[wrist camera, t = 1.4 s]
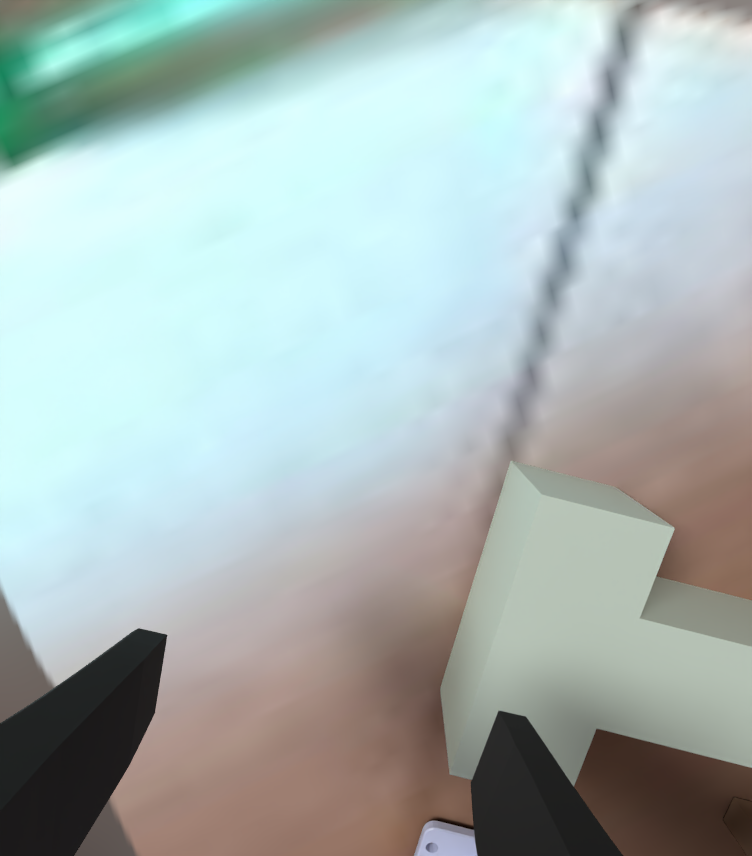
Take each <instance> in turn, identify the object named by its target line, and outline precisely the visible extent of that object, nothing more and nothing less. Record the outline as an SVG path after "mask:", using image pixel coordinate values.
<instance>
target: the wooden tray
mask: <svg viewBox="0 0 752 856" xmlns="http://www.w3.org/2000/svg"><path fill="white" fill-rule="evenodd" d="M723 821H724V822H725V824H726V825H727V827H728V828H729V830H730V831H731V833H732V834H733V836H734V837H735V839H736V840H737V842H738V843H739V845H740V846H741V848H742V849H743V851H744V852H745V854H746V855H747V856H752V802H751V801H747V800H743V799H739V798H736V797H734V798H733V800H732V802H731V804H730V806H729V808H728V811H727V813H726V815H725V817H724V819H723Z"/></svg>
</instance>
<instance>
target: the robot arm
mask: <svg viewBox="0 0 752 856" xmlns="http://www.w3.org/2000/svg"><path fill="white" fill-rule="evenodd" d="M166 639H167V635H166V634H161V633H157V632H152V631H148V630H144V629H139V628H138V629H137V630H135V631H133V632H131V633H130V634H129V635H127V636H126V637H125V638H123V639H122V640H121V641H119V642H118V643H117V644H115V645H114V646H113V647H111V648H110V649H108V650H107V651H106V652H104V653H103V654H102V655H100V656H99V657H98V658H96V659H95V660H93V661H92V662H91V663H89V664H88V665H86V666H85V667H84V668H82V669H81V670H79V671H78V672H77V673H75V674H74V675H72V676H71V677H69V678H68V679H67V680H65V681H64V682H62V683H61V684H59V685H58V686H56V687H55V688H53V689H52V690H51V691H49V692H48V693H46V694H45V695H43V696H42V697H40V698H39V699H37V700H36V701H34V702H33V703H31V704H30V705H28V706H27V707H25V708H24V709H22V710H21V711H19V712H17V713H16V714H14V715H13V716H11V717H9V718H8V719H6V720H5V721H3V722H2V723H0V856H74V855H75V853H76V852H77V850H78V848H79V847H80V845H81V844H82V842H83V840H84V839H85V837H86V835H87V834H88V832H89V831H90V829H91V827H92V826H93V824H94V822H95V821H96V819H97V817H98V816H99V814H100V813H101V811H102V809H103V808H104V806H105V805H106V803H107V801H108V800H109V798H110V796H111V795H112V793H113V791H114V790H115V788H116V786H117V785H118V783H119V782H120V780H121V778H122V777H123V775H124V773H125V772H126V770H127V768H128V767H129V765H130V763H131V761H132V759H133V757H134V755H135V753H136V751H137V749H138V747H139V745H140V743H141V741H142V738H143V736H144V734H145V732H146V730H147V728H148V726H149V724H150V722H151V720H152V718H153V715H154V713H155V708H156V702H157V696H158V689H159V683H160V677H161V671H162V664H163V658H164V652H165V646H166ZM471 794H472V810H473V823H474V830H472V829H468V828H464V827H460V826H456V825H452V824H448V823H444V822H440V821H434V820H433V821H429V822H427V823H426V824H425V825H424V827H423V830H422V833H421V836H420V839H419V842H418V845H417V848H416V851H415V854H414V856H623V855H622V854H621V852H620V851H619V850H618V848H617V847H616V846H615V844H614V843H613V841H612V840H611V839H610V837H609V836H608V835H607V833H606V832H605V831H604V829H603V828H602V826H601V825H600V824H599V822H598V821H597V819H596V818H595V817H594V815H593V814H592V812H591V811H590V809H589V808H588V807H587V805H586V804H585V802H584V801H583V799H582V798H581V797H580V795H579V794H578V792H577V791H576V789H575V788H574V786H573V785H572V784H571V782H570V781H569V779H568V778H567V776H566V775H565V773H564V772H563V770H562V769H561V767H560V766H559V764H558V763H557V761H556V760H555V758H554V757H553V755H552V754H551V752H550V751H549V749H548V748H547V746H546V745H545V743H544V742H543V740H542V739H541V737H540V736H539V735H538V733H537V732H536V730H535V729H534V727H533V726H532V724H531V723H530V721H529V720H528V719H527V717H526V716H521V715H517V714H513V713H508V712H504V711H498V713H497V716H496V718H495V721H494V724H493V726H492V729H491V731H490V734H489V737H488V739H487V742H486V745H485V747H484V750H483V752H482V755H481V758H480V760H479V763H478V765H477V768H476V771H475V773H474V776H473V779H472V781H471Z"/></svg>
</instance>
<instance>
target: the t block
mask: <svg viewBox="0 0 752 856" xmlns="http://www.w3.org/2000/svg"><path fill="white" fill-rule="evenodd" d="M674 529H675V528H674V527H673V526H671V525H670V524H668V523H667V522H665V521H664V520H662V519H661V518H660V517H658V516H657V515H655V514H654V513H652V512H651V511H649V510H648V509H647V508H645V507H644V506H642V505H641V504H639V503H638V502H636V501H635V500H634V499H632V498H631V497H629V496H628V495H626V494H625V493H623V492H622V491H621V490H619V489H618V488H616V487H614V486H610V485H606V484H602V483H598V482H594V481H590V480H586V479H582V478H578V477H574V476H570V475H566V474H562V473H558V472H554V471H550V470H546V469H542V468H538V467H535V466H531V465H527V464H523V463H519V462H515V461H511V462H510V465H509V469H508V472H507V475H506V478H505V481H504V485H503V488H502V491H501V494H500V497H499V501H498V504H497V507H496V510H495V514H494V517H493V520H492V523H491V526H490V530H489V533H488V536H487V539H486V542H485V546H484V549H483V552H482V555H481V559H480V562H479V565H478V568H477V571H476V575H475V578H474V581H473V584H472V587H471V591H470V594H469V597H468V600H467V604H466V607H465V610H464V613H463V616H462V620H461V623H460V626H459V629H458V632H457V636H456V639H455V642H454V645H453V648H452V652H451V655H450V658H449V661H448V665H447V668H446V671H445V674H444V677H443V681H442V684H441V687H440V693H441V702H442V711H443V719H444V728H445V737H446V746H447V755H448V764H449V773H450V775H454V776H458V777H462V778H466V779H470V780H472V779H473V776H474V773H475V771H476V768H477V765H478V763H479V760H480V758H481V755H482V752H483V750H484V747H485V745H486V742H487V739H488V737H489V734H490V731H491V729H492V726H493V724H494V721H495V718H496V716H497V713H498V711H504V712H508V713H513V714H517V715H521V716H526V717H527V719H528V720H529V721H530V723H531V724H532V726H533V727H534V729H535V730H536V732H537V733H538V735H539V736H540V737H541V739H542V740H543V742H544V743H545V745H546V746H547V748H548V749H549V751H550V752H551V754H552V755H553V757H554V758H555V760H556V761H557V763H558V764H559V766H560V767H561V769H562V770H563V772H564V773H565V775H566V776H567V778H568V779H569V781H570V782H571V784H572V785H573V786H574V785H575V782H576V780H577V777H578V775H579V772H580V770H581V767H582V765H583V762H584V759H585V757H586V754H587V752H588V749H589V747H590V744H591V742H592V739H593V736H594V734H595V731H596V729H601V730H605V731H609V732H612V733H616V734H620V735H624V736H628V737H632V738H636V739H640V740H644V741H648V742H652V743H656V744H660V745H664V746H668V747H672V748H676V749H679V750H683V751H687V752H691V753H695V754H699V755H703V756H707V757H711V758H715V759H719V760H723V761H727V762H731V763H735V764H739V765H743V766H747V767H750V768H752V600H748V599H744V598H740V597H736V596H732V595H728V594H724V593H720V592H716V591H712V590H708V589H704V588H700V587H697V586H693V585H689V584H685V583H681V582H677V581H673V580H669V579H665V578H661V577H657V576H656V575H657V573H658V570H659V568H660V565H661V562H662V560H663V557H664V555H665V552H666V550H667V547H668V544H669V542H670V539H671V537H672V534H673V532H674Z"/></svg>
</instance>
